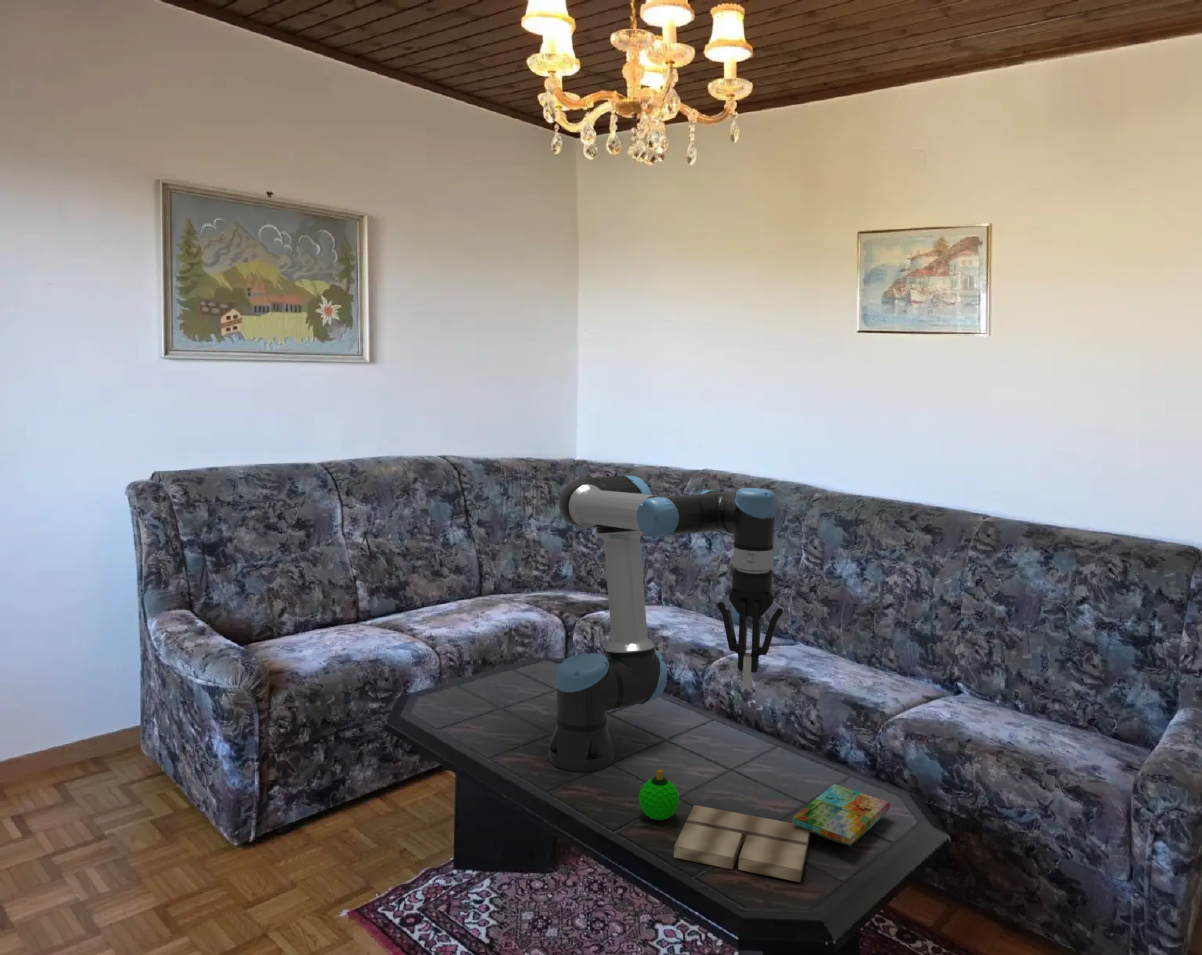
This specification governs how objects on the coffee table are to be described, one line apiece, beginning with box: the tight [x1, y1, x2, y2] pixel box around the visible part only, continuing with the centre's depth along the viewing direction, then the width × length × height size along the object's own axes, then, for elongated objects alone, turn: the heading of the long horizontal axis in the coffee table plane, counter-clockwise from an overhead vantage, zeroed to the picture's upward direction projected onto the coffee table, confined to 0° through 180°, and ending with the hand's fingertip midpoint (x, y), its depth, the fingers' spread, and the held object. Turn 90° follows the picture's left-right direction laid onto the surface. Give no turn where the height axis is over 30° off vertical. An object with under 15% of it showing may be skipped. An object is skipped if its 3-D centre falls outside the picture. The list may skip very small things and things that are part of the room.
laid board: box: [685, 804, 811, 854], centre depth 172 cm, size 23×7×2 cm, turn 71°
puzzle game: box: [791, 783, 891, 848], centre depth 175 cm, size 12×5×20 cm
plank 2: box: [737, 835, 807, 883], centre depth 162 cm, size 11×9×2 cm
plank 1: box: [673, 822, 743, 870], centre depth 166 cm, size 11×9×2 cm
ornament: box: [638, 769, 680, 821], centre depth 177 cm, size 8×8×10 cm
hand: (747, 686), depth 173 cm, fingers closed
